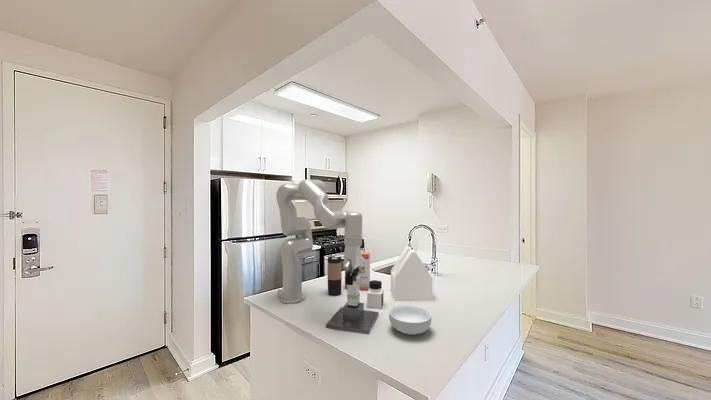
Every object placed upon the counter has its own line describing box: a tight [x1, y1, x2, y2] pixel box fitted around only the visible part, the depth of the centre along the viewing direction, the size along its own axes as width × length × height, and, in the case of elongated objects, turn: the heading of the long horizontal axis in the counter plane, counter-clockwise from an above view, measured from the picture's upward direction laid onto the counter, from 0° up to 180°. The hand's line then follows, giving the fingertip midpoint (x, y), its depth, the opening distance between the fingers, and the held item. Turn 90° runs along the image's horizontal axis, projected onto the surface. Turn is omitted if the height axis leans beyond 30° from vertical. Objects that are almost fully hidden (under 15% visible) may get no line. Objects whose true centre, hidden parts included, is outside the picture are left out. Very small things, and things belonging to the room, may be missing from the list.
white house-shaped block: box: [390, 246, 433, 302], centre depth 152 cm, size 19×15×25 cm
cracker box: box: [344, 251, 371, 291], centre depth 163 cm, size 14×6×21 cm, turn 81°
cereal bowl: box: [388, 304, 433, 336], centre depth 112 cm, size 17×17×7 cm
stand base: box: [325, 302, 380, 335], centre depth 120 cm, size 18×18×7 cm
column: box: [346, 269, 361, 306], centre depth 120 cm, size 5×5×14 cm
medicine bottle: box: [366, 279, 384, 309], centre depth 138 cm, size 7×7×12 cm
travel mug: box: [327, 255, 343, 297], centre depth 154 cm, size 8×8×20 cm
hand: (352, 281), depth 120 cm, fingers open, 9 cm apart
